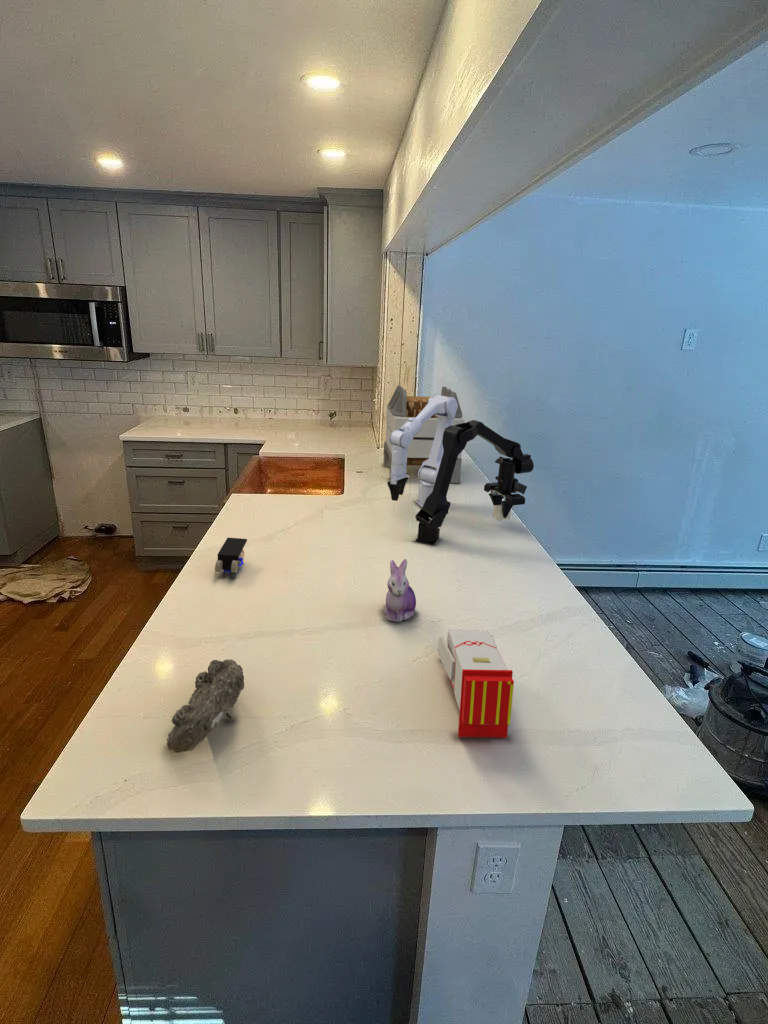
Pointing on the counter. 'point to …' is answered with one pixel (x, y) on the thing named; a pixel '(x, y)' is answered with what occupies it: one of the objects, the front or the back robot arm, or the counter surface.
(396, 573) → the figurine
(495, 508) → the light grey cube-like block
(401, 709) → the counter surface
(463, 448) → the front robot arm
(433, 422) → the grey wooden planter box
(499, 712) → the toy
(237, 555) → the figurine character
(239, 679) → the fossil
